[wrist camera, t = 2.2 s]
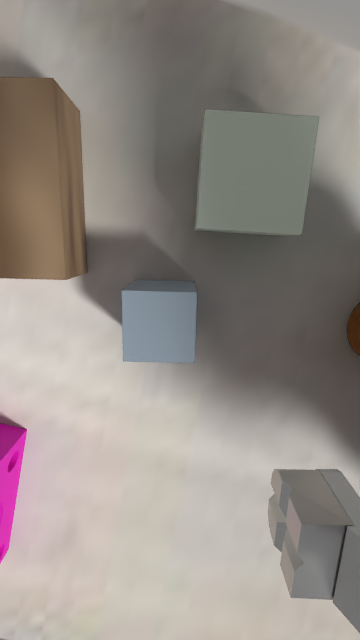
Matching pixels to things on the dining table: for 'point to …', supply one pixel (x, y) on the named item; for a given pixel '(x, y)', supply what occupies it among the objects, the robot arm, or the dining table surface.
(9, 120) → the walnut pedestal
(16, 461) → the toy block
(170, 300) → the slate block
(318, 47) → the dining table surface
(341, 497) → the robot arm
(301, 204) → the sage block
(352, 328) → the disposable coffee cup
